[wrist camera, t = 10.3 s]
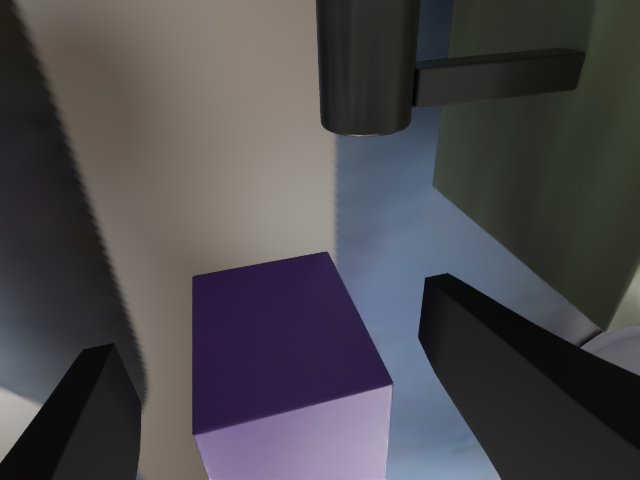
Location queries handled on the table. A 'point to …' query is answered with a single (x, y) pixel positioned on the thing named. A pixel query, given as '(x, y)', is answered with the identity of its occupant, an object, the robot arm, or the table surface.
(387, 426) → the purple box
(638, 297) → the drawer
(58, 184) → the table surface
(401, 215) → the table surface
